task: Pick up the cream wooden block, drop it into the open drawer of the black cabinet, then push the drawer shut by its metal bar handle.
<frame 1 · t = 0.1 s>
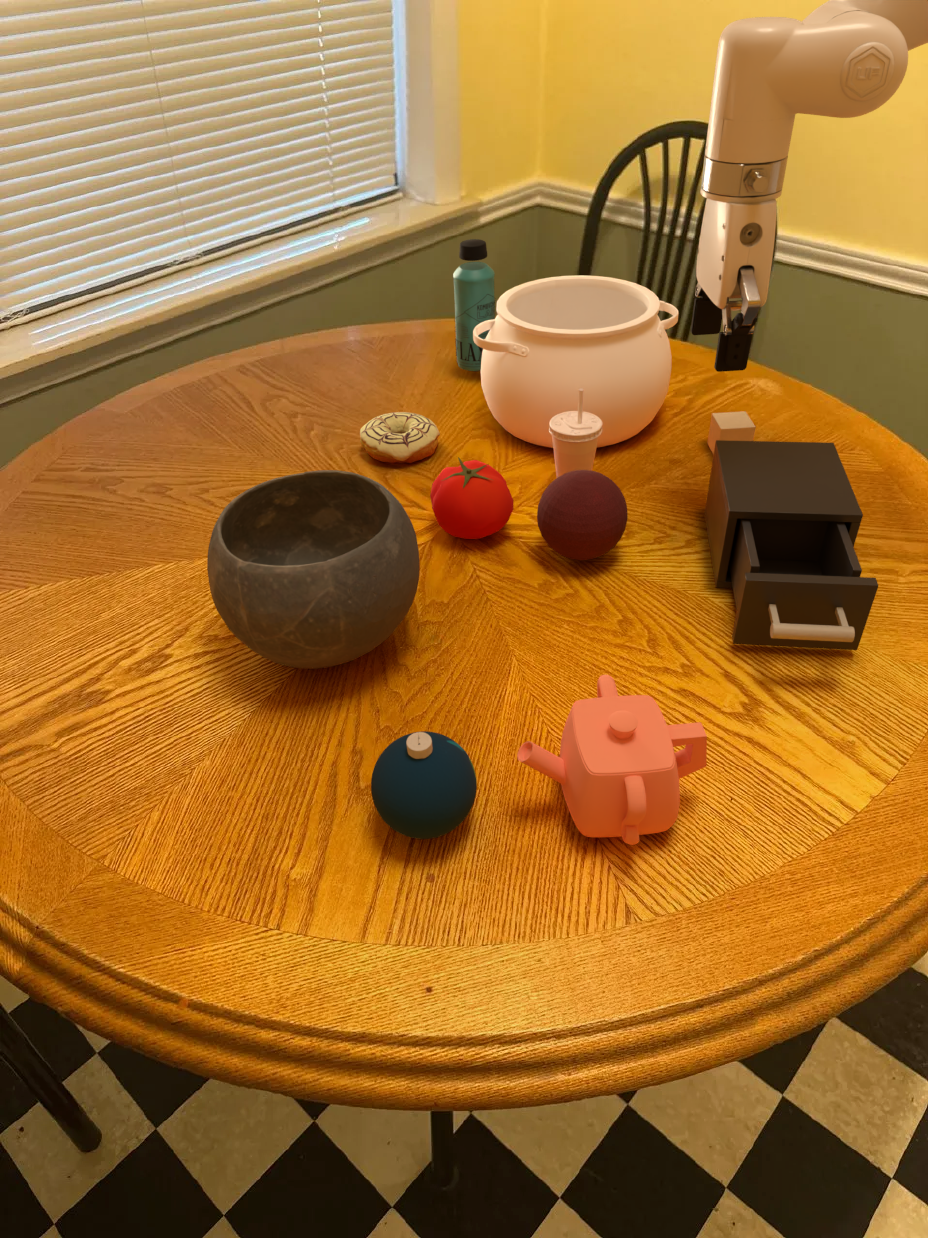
hand: (717, 350, 93), 20 cm above the table, tool pointing down, fingers open, 9 cm apart
teapot: (606, 797, 72), on the table
bowl: (329, 637, 90), on the table
beverage bottle: (477, 373, 138), on the table
pot: (572, 416, 125), on the table
tomato: (473, 530, 104), on the table
block: (728, 450, 115), on the table
cabinet: (767, 550, 97), on the table
drawer: (794, 585, 85), point 5 cm above the table, slide at 9.0 cm
smoothie: (572, 493, 109), on the table
decorative ball: (580, 553, 99), on the table
christmas ornament: (428, 818, 71), on the table
decorated donut: (400, 450, 120), on the table
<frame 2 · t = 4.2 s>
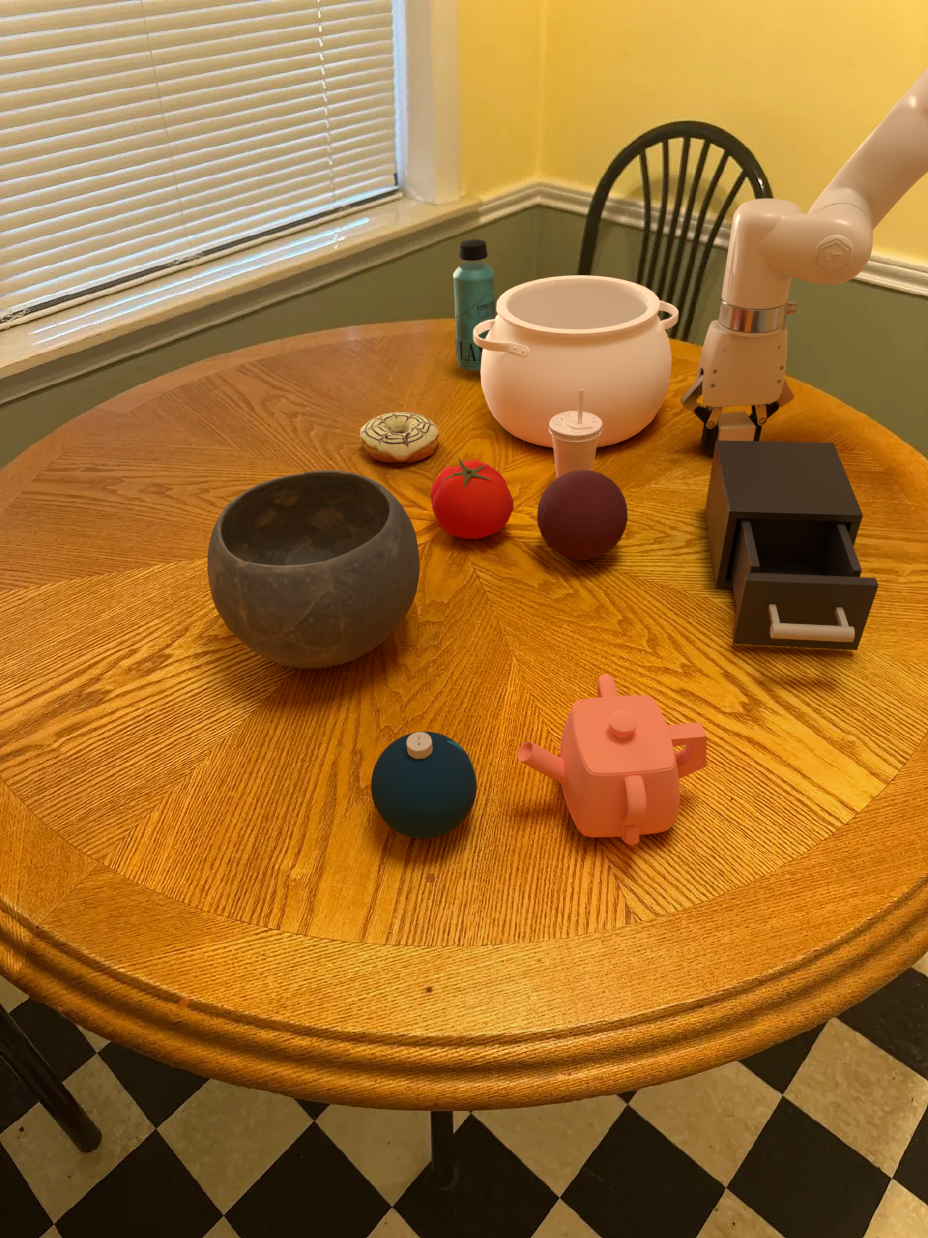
hand: (728, 448, 115), 0 cm above the table, tool pointing down, fingers closed on block, 4 cm apart
block: (728, 450, 115), on the table, touching gripper
everything else where it was.
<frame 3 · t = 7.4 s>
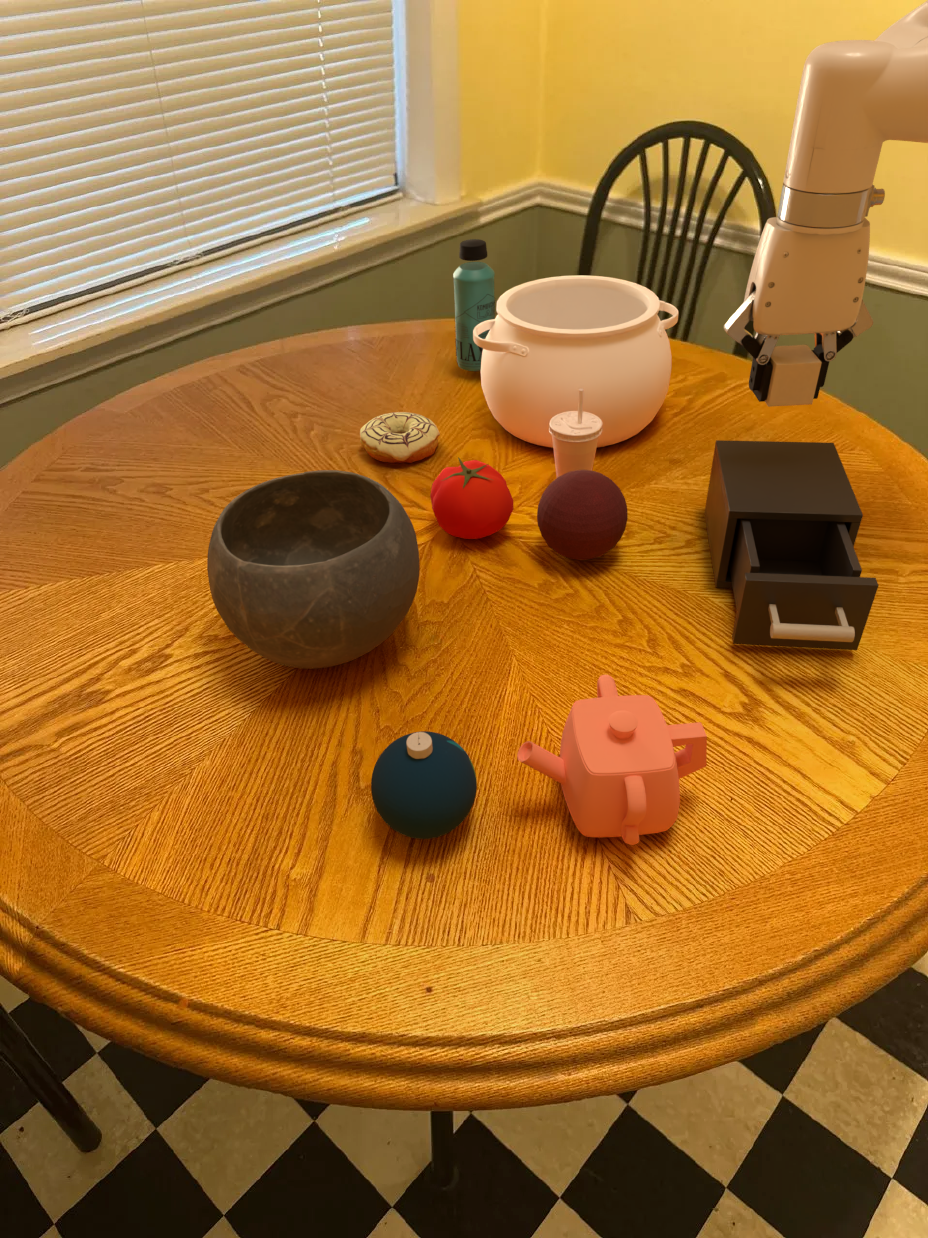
hand: (784, 392, 89), 17 cm above the table, tool pointing down, fingers closed on block, 4 cm apart
block: (783, 395, 89), point 17 cm above the table, touching gripper
everything else where it was.
when the fingers open (10 cm above the table, at t = 10.5 s): block drops 8 cm, resting on drawer.
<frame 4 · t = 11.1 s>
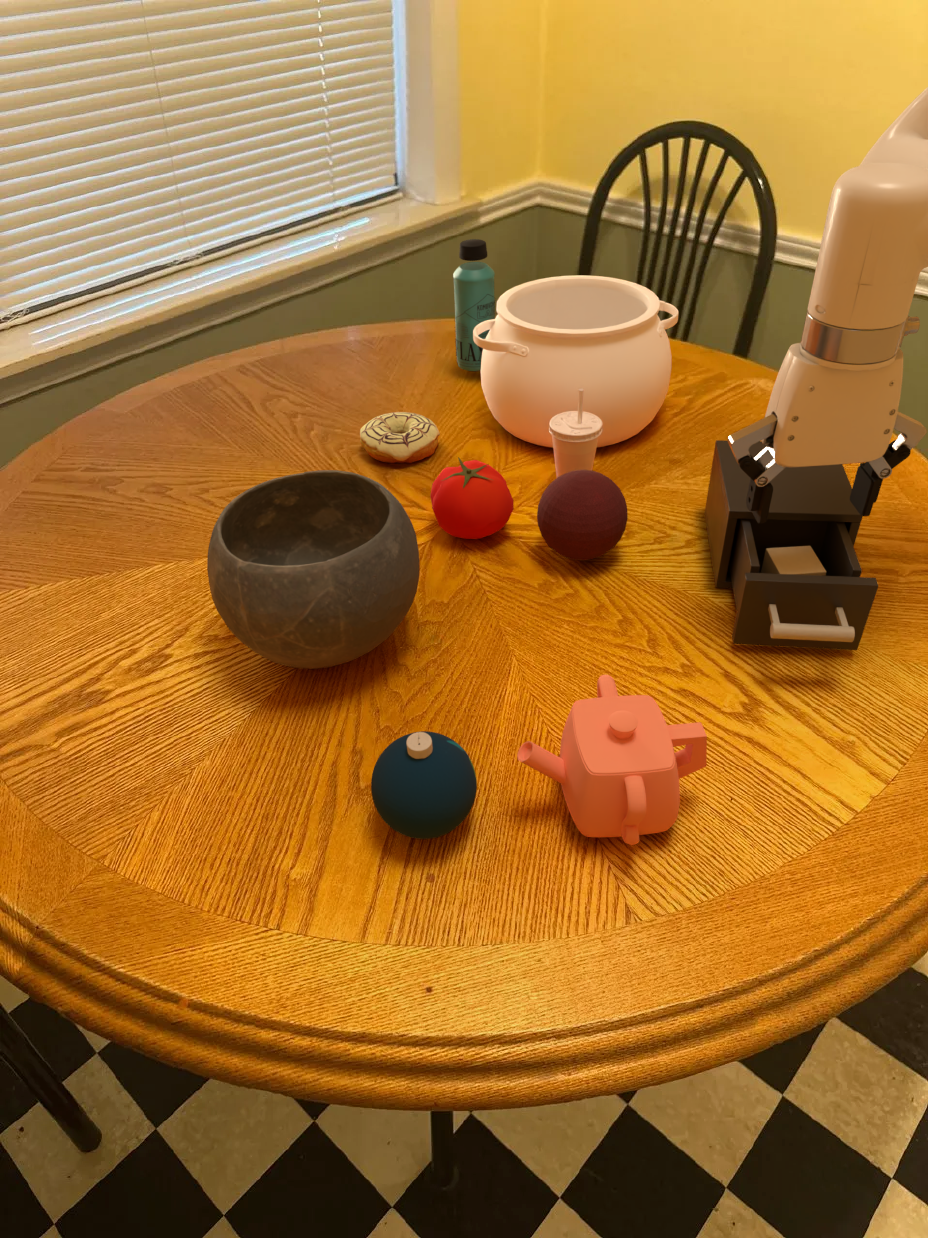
hand: (808, 511, 81), 12 cm above the table, tool pointing down, fingers open, 9 cm apart
block: (786, 595, 88), point 2 cm above the table, touching drawer
drawer: (794, 585, 85), point 5 cm above the table, slide at 9.0 cm, touching block
everything else where it was.
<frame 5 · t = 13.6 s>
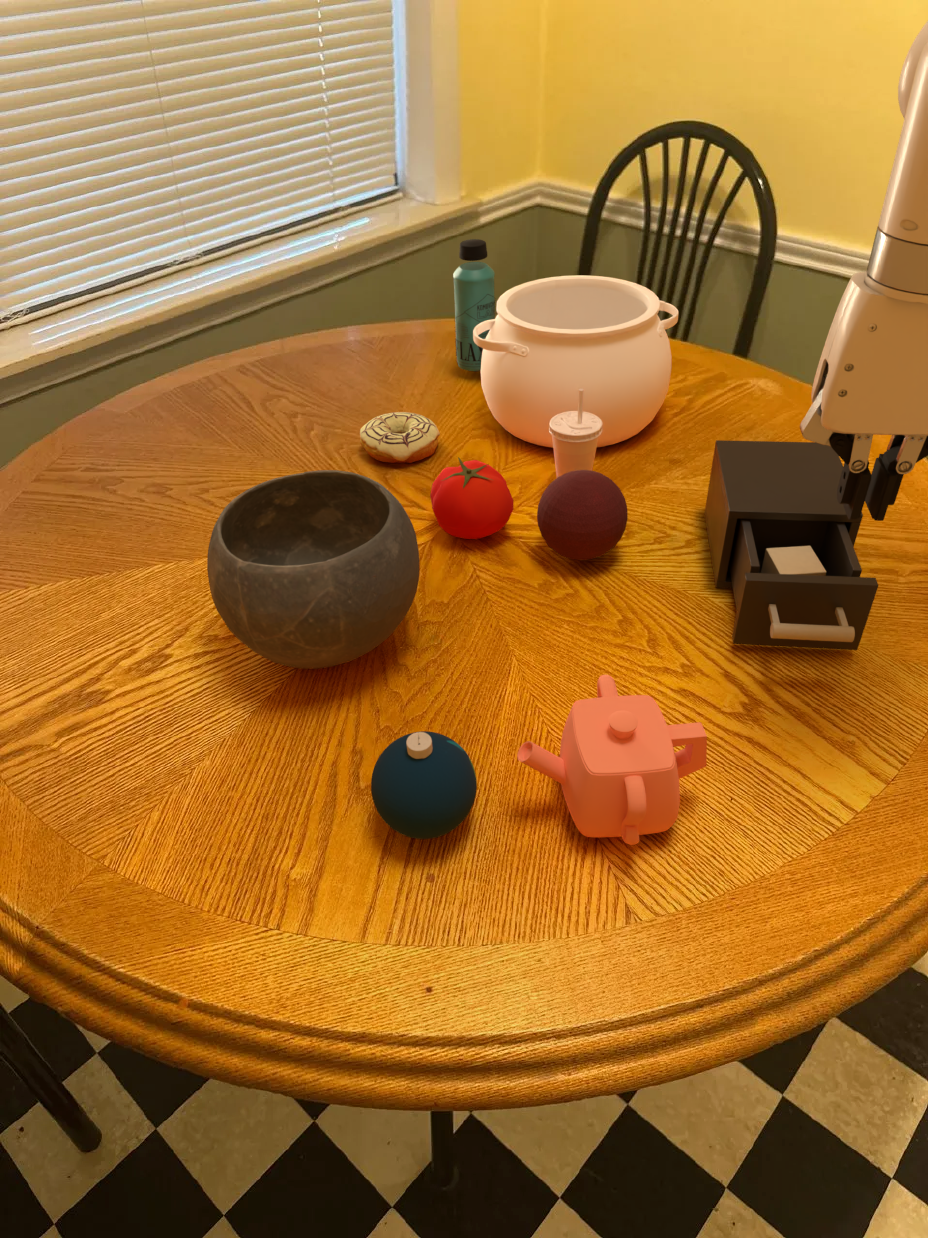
hand: (861, 509, 65), 21 cm above the table, tool pointing down, fingers closed
nothing on the table moved.
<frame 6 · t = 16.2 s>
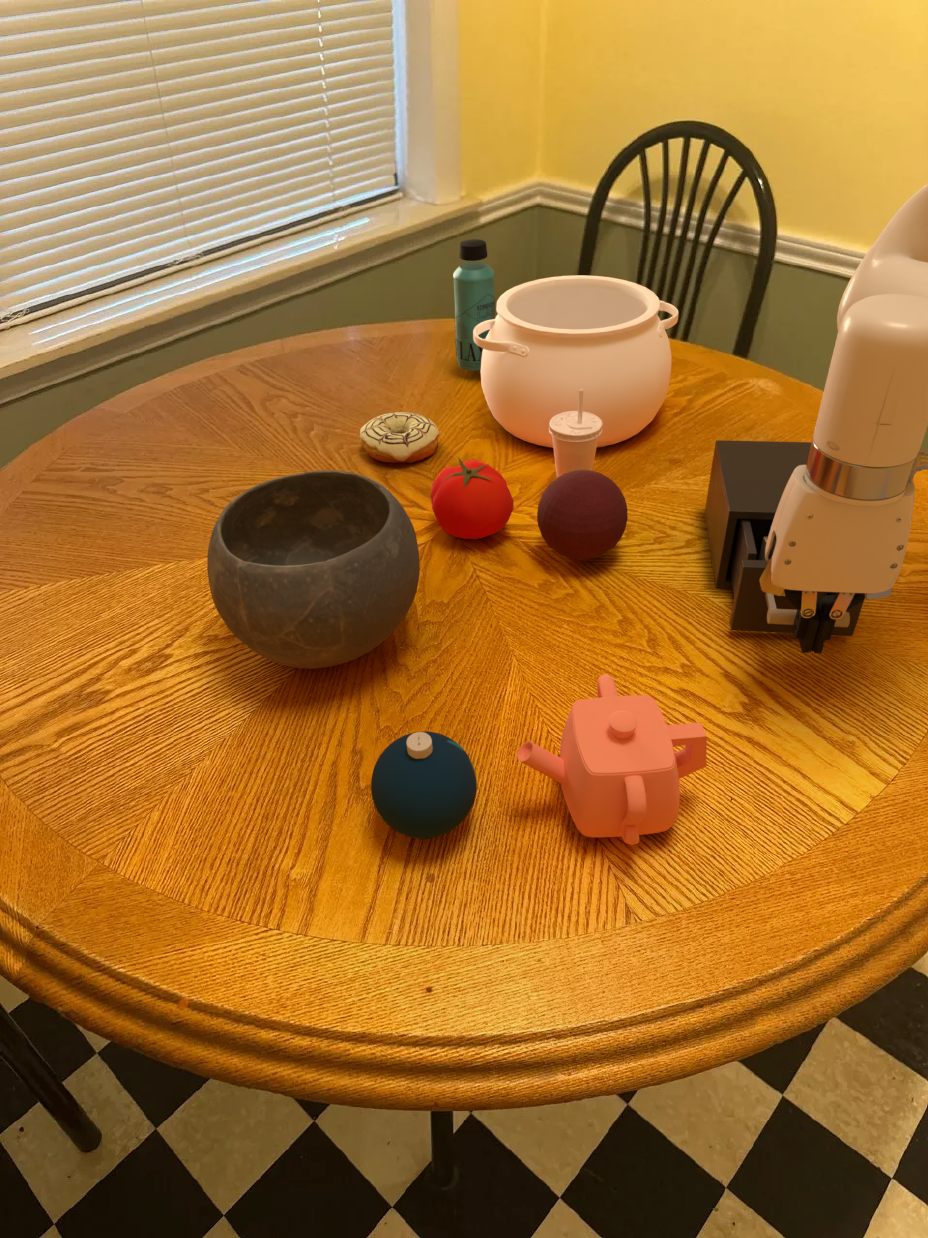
hand: (808, 642, 78), 5 cm above the table, tool pointing down, fingers closed
block: (783, 583, 89), point 2 cm above the table, touching drawer
drawer: (791, 573, 86), point 5 cm above the table, slide at 6.9 cm, touching block, gripper
everything else where it was.
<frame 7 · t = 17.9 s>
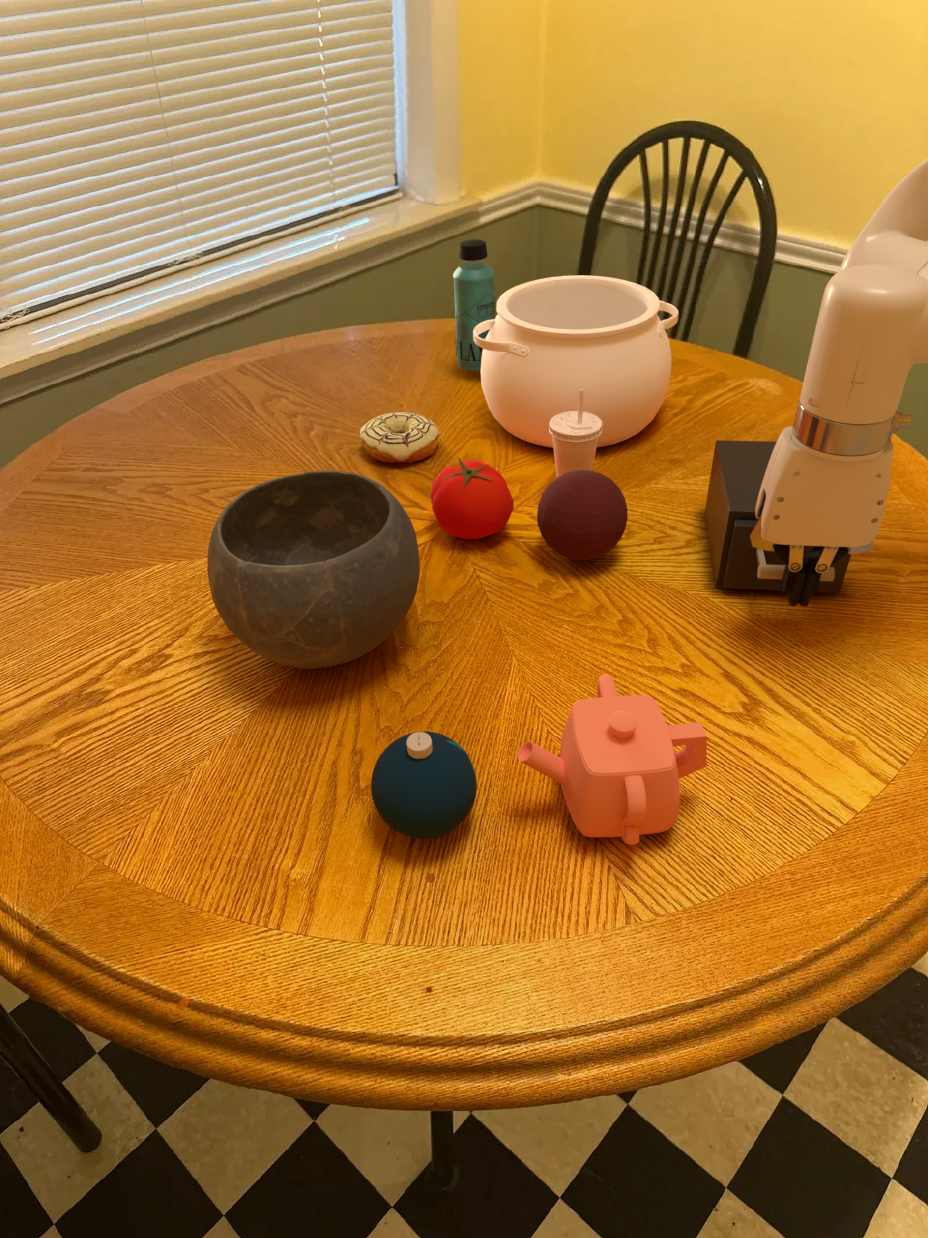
hand: (795, 597, 84), 5 cm above the table, tool pointing down, fingers closed
block: (774, 544, 95), point 2 cm above the table, touching drawer
drawer: (781, 534, 91), point 5 cm above the table, slide at 0.0 cm, touching block, cabinet, gripper
everything else where it was.
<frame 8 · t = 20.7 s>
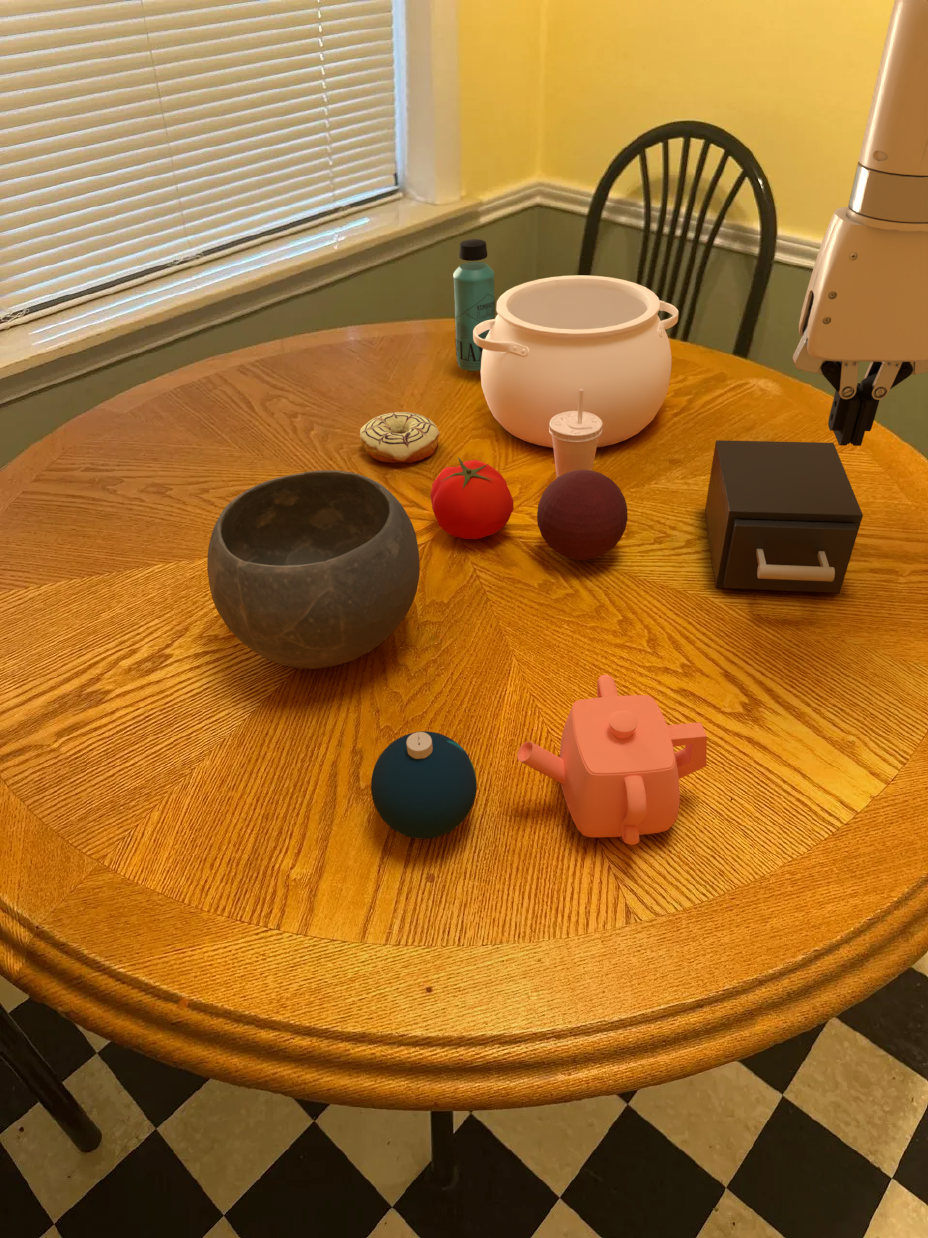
hand: (846, 437, 70), 23 cm above the table, tool pointing down, fingers closed
drawer: (781, 534, 91), point 5 cm above the table, slide at 0.0 cm, touching block, cabinet
everything else where it was.
at the end: block inside the target area in the cabinet (1.9 cm from its centre), point 2.1 cm above the cabinet's base; drawer slide at 0.0 cm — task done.
